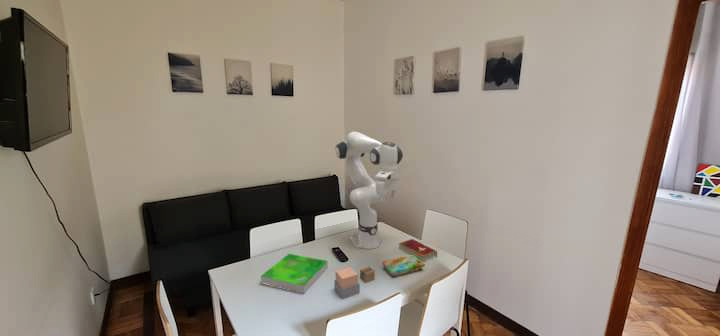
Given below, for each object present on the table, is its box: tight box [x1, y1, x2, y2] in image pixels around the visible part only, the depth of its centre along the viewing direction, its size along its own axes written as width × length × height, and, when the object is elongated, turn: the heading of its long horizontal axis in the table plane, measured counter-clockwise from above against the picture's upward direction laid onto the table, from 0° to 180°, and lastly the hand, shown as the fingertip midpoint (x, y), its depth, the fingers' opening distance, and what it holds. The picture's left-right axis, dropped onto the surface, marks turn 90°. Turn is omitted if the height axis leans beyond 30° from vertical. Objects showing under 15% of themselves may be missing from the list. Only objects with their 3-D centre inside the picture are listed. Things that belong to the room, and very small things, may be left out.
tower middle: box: [334, 266, 359, 289], centre depth 141 cm, size 8×8×5 cm
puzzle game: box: [381, 254, 425, 277], centre depth 162 cm, size 12×5×20 cm
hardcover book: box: [398, 238, 438, 262], centre depth 181 cm, size 12×21×4 cm, turn 34°
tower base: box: [334, 279, 361, 300], centre depth 142 cm, size 9×9×5 cm
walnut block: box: [359, 266, 375, 284], centre depth 153 cm, size 6×6×5 cm
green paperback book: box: [260, 253, 329, 295], centre depth 156 cm, size 25×25×5 cm
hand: (388, 199), depth 155 cm, fingers open, 8 cm apart
